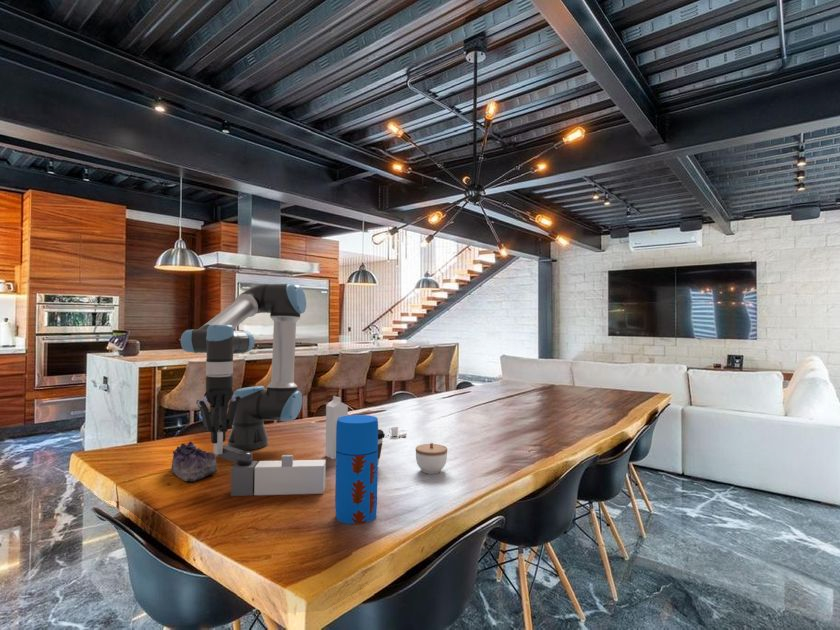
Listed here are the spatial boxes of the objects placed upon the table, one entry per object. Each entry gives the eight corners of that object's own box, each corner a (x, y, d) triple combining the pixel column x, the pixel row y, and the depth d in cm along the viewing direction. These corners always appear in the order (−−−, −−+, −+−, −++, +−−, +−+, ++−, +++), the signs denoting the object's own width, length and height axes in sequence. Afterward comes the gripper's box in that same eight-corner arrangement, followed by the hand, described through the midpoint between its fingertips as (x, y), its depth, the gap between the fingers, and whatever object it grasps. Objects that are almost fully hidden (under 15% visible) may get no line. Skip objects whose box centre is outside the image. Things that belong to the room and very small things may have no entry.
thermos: (337, 507, 125) (338, 414, 126) (377, 506, 126) (378, 414, 126) (333, 525, 114) (334, 423, 115) (376, 524, 115) (378, 423, 116)
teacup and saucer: (409, 436, 204) (409, 427, 204) (398, 440, 197) (398, 431, 197) (392, 434, 208) (392, 424, 208) (382, 437, 202) (382, 428, 202)
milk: (332, 459, 168) (333, 398, 168) (325, 455, 173) (325, 396, 173) (347, 456, 172) (348, 397, 172) (340, 452, 176) (340, 394, 176)
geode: (156, 472, 153) (161, 440, 154) (192, 468, 161) (196, 439, 163) (183, 484, 140) (187, 450, 141) (220, 480, 148) (224, 447, 150)
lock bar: (223, 453, 146) (223, 443, 146) (255, 463, 136) (255, 452, 136) (211, 456, 143) (211, 445, 143) (242, 466, 133) (243, 455, 133)
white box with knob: (236, 488, 138) (237, 451, 139) (325, 486, 141) (325, 449, 141) (230, 495, 132) (231, 457, 133) (323, 493, 135) (323, 455, 135)
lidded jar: (424, 478, 149) (425, 448, 150) (409, 468, 159) (410, 441, 159) (453, 473, 154) (453, 445, 154) (437, 464, 164) (437, 437, 164)
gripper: (233, 372, 148) (232, 446, 148) (192, 376, 138) (190, 455, 138) (245, 374, 144) (244, 451, 143) (204, 378, 134) (202, 460, 133)
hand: (218, 453), depth 141 cm, fingers closed
